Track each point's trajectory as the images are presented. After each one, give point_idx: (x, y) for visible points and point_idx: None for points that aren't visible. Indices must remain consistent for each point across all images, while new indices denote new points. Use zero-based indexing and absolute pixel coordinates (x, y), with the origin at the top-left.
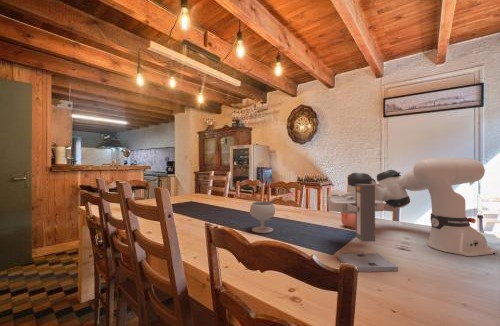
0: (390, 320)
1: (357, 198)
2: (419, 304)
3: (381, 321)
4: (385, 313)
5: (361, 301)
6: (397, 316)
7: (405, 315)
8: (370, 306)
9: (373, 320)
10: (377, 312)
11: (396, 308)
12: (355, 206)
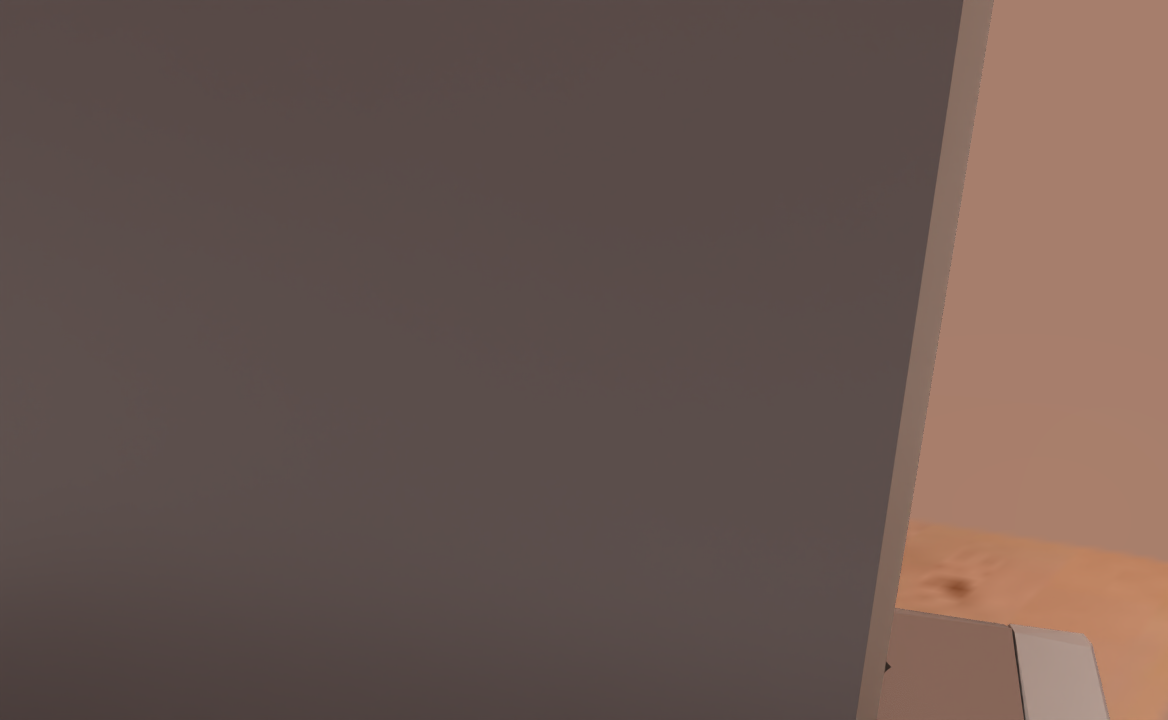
0: (1034, 544)
1: (932, 301)
2: None
3: (1096, 549)
4: (1030, 584)
5: (1157, 702)
6: (966, 555)
7: (908, 552)
8: (1105, 648)
9: (1145, 562)
10: (1082, 600)
11: (919, 599)
12: (1039, 694)
